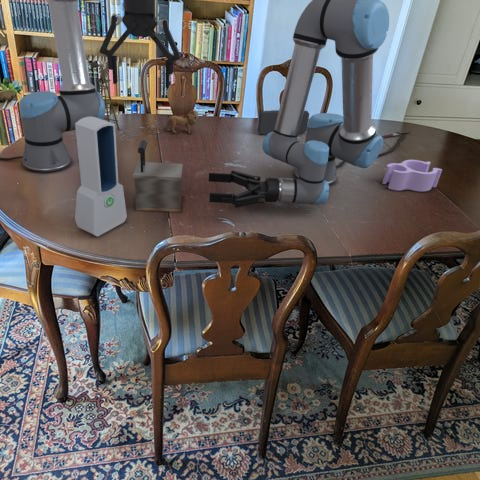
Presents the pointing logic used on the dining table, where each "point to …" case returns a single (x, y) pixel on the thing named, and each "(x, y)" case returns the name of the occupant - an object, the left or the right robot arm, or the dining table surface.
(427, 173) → the clip
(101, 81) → the miniature windmill
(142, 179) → the chest
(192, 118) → the lion figurine
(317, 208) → the dining table surface
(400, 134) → the sword
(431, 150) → the dining table surface
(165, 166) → the lid
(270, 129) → the handheld gaming console
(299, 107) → the right robot arm
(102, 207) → the electronic device
